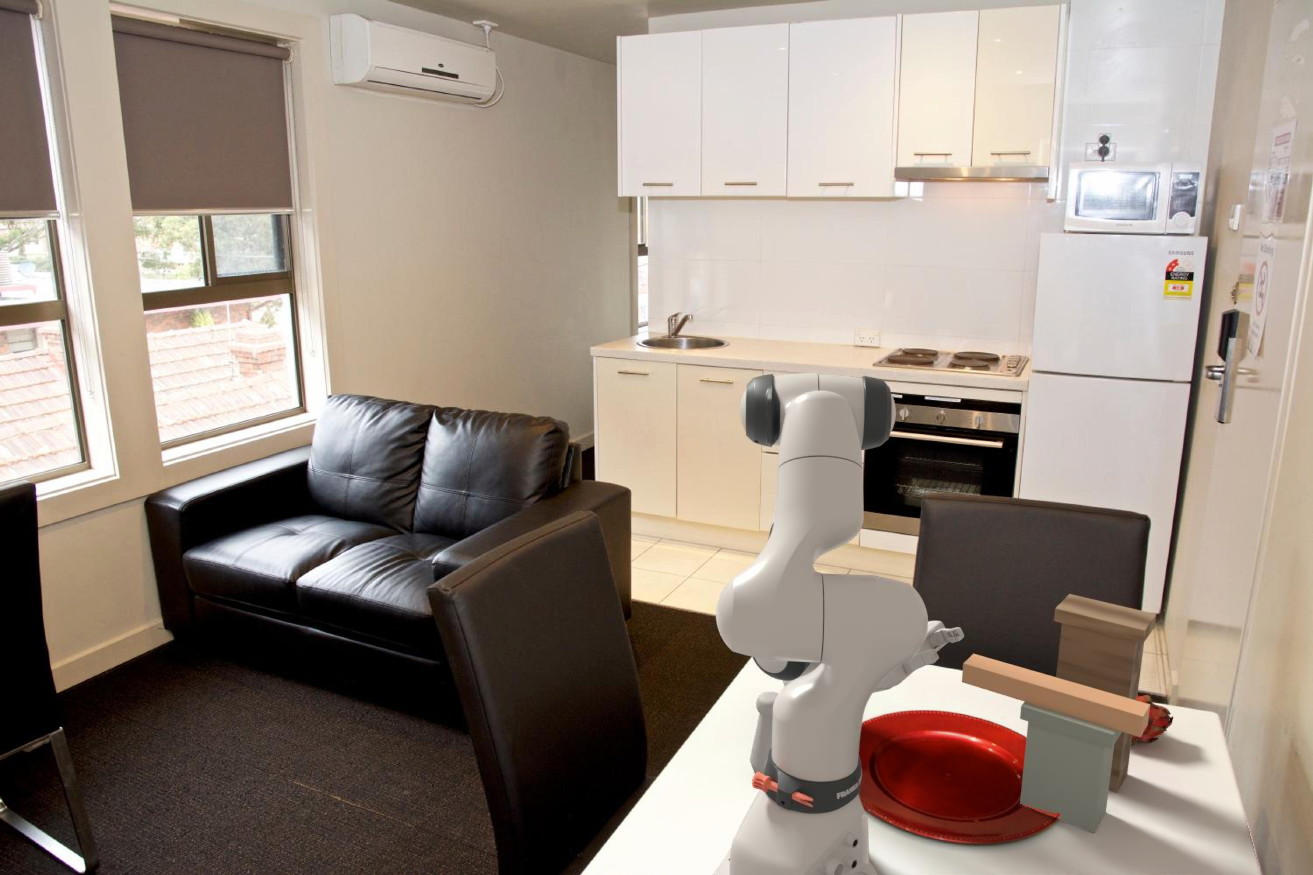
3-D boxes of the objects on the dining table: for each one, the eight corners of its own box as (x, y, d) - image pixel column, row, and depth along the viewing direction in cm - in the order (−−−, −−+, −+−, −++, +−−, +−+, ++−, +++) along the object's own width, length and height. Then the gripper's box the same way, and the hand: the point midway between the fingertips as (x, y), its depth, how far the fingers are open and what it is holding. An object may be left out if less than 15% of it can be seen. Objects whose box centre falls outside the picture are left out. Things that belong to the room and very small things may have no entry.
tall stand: (1123, 796, 138) (1144, 630, 132) (1038, 766, 145) (1055, 608, 139) (1135, 774, 143) (1156, 614, 137) (1052, 747, 151) (1069, 593, 145)
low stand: (1100, 837, 129) (1113, 734, 125) (1011, 803, 136) (1021, 705, 133) (1114, 812, 134) (1126, 713, 131) (1027, 781, 142) (1037, 686, 138)
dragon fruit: (1086, 741, 155) (1160, 754, 155) (1110, 736, 148) (1188, 750, 147) (1086, 688, 159) (1159, 701, 158) (1109, 680, 151) (1186, 694, 150)
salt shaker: (787, 764, 146) (790, 687, 143) (789, 786, 140) (792, 706, 137) (749, 762, 146) (751, 685, 143) (749, 784, 141) (751, 704, 138)
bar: (1140, 737, 125) (1143, 716, 124) (961, 682, 139) (963, 663, 139) (1147, 724, 128) (1150, 704, 127) (971, 672, 142) (973, 653, 142)
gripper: (832, 668, 143) (909, 648, 134) (892, 623, 159) (965, 603, 150) (849, 707, 143) (928, 690, 134) (908, 659, 158) (982, 640, 149)
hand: (948, 643), depth 142 cm, fingers open, 8 cm apart
